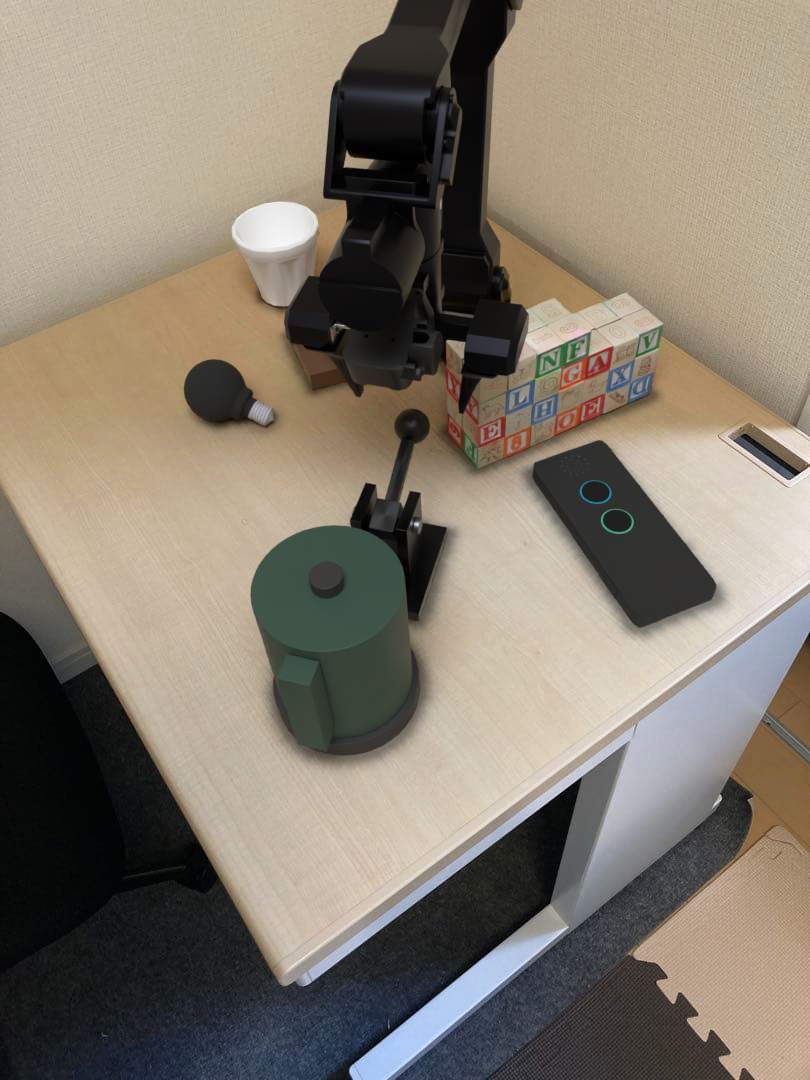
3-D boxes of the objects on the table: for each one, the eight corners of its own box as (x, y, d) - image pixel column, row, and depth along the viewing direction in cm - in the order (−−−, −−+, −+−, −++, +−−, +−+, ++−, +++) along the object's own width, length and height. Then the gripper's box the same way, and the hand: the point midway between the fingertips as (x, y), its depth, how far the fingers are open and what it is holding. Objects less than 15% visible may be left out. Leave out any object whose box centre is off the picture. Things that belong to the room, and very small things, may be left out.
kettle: (305, 616, 81) (276, 496, 68) (435, 644, 78) (430, 526, 66) (248, 752, 73) (203, 645, 60) (391, 789, 70) (375, 685, 58)
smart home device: (603, 436, 90) (722, 585, 79) (601, 448, 92) (717, 597, 80) (529, 462, 89) (638, 619, 77) (528, 474, 90) (635, 630, 78)
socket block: (386, 310, 107) (383, 281, 104) (415, 362, 101) (414, 333, 98) (288, 336, 105) (283, 308, 102) (312, 390, 99) (307, 362, 96)
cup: (325, 317, 107) (315, 249, 100) (240, 320, 107) (225, 252, 100) (330, 267, 113) (321, 199, 106) (250, 269, 114) (236, 202, 106)
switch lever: (401, 415, 83) (396, 399, 80) (435, 421, 82) (431, 405, 79) (368, 537, 80) (361, 525, 77) (403, 544, 79) (398, 532, 76)
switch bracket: (366, 519, 87) (358, 456, 81) (447, 535, 86) (446, 471, 79) (333, 603, 82) (321, 542, 75) (419, 621, 80) (415, 561, 73)
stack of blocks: (615, 361, 100) (631, 265, 90) (650, 395, 96) (672, 299, 87) (445, 432, 94) (444, 338, 85) (477, 471, 91) (479, 377, 81)
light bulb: (270, 412, 91) (179, 367, 91) (254, 457, 95) (167, 414, 95) (293, 381, 96) (207, 338, 95) (276, 425, 100) (194, 384, 100)
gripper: (241, 294, 64) (276, 449, 76) (503, 331, 60) (496, 489, 72) (296, 206, 70) (320, 363, 82) (536, 235, 66) (524, 395, 78)
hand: (410, 402), depth 79 cm, fingers open, 9 cm apart
